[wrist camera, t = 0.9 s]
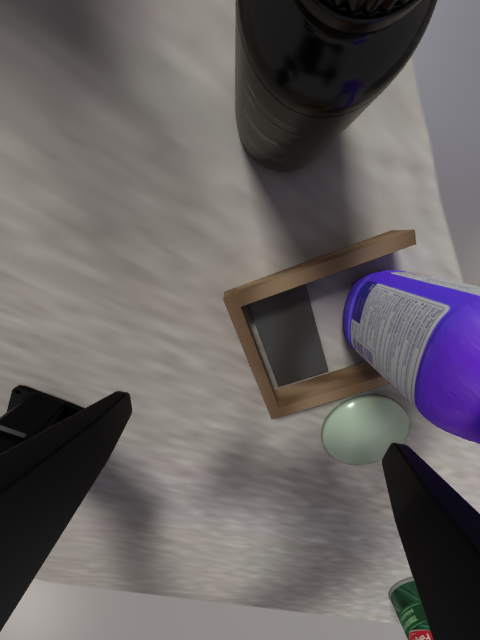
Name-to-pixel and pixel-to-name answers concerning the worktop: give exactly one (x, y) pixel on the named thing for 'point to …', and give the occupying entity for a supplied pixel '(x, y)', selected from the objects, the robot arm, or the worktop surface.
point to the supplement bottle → (315, 69)
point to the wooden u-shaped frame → (302, 329)
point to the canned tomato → (410, 610)
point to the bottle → (422, 343)
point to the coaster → (364, 429)
